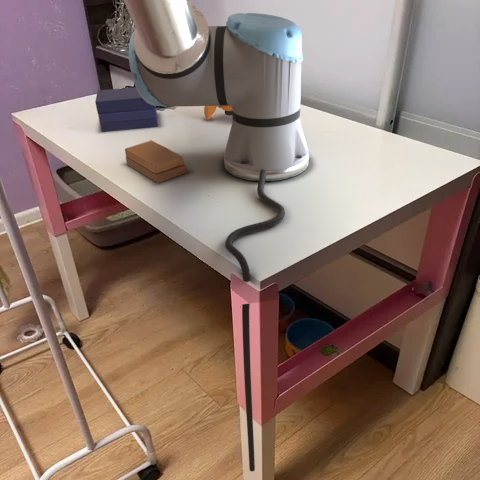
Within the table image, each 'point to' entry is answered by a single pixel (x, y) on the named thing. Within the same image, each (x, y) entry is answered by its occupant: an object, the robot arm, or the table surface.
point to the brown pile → (155, 161)
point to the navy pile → (128, 120)
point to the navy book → (120, 101)
